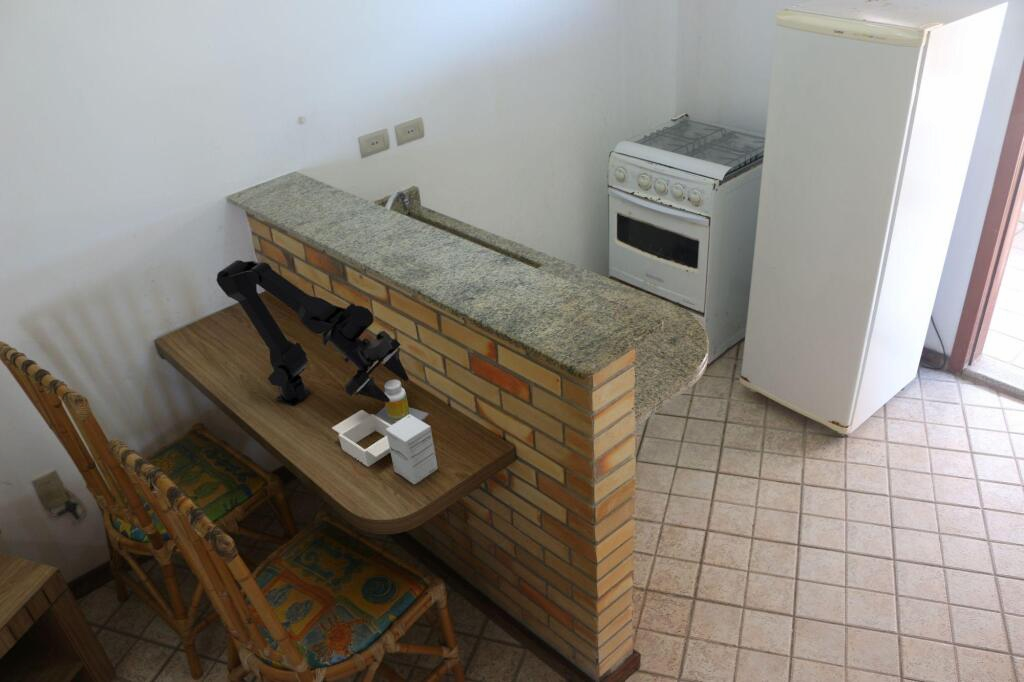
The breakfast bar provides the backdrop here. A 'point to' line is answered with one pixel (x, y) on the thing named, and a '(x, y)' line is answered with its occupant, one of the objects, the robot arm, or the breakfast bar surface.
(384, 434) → the carton
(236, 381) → the breakfast bar surface
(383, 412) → the mat
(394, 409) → the supplement bottle
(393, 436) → the supplement box
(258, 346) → the breakfast bar surface
